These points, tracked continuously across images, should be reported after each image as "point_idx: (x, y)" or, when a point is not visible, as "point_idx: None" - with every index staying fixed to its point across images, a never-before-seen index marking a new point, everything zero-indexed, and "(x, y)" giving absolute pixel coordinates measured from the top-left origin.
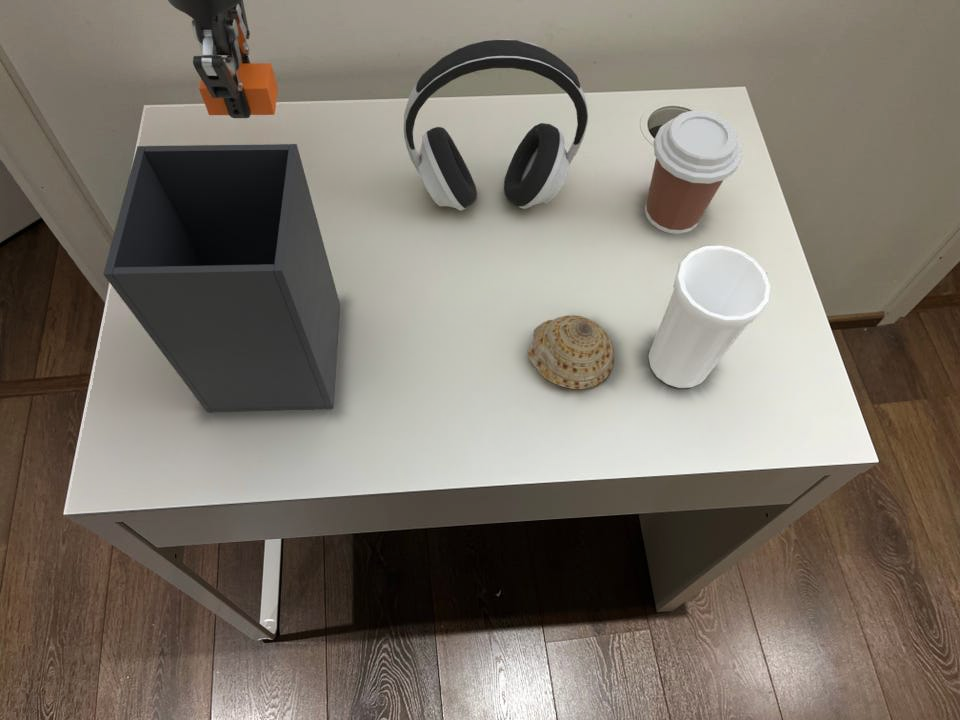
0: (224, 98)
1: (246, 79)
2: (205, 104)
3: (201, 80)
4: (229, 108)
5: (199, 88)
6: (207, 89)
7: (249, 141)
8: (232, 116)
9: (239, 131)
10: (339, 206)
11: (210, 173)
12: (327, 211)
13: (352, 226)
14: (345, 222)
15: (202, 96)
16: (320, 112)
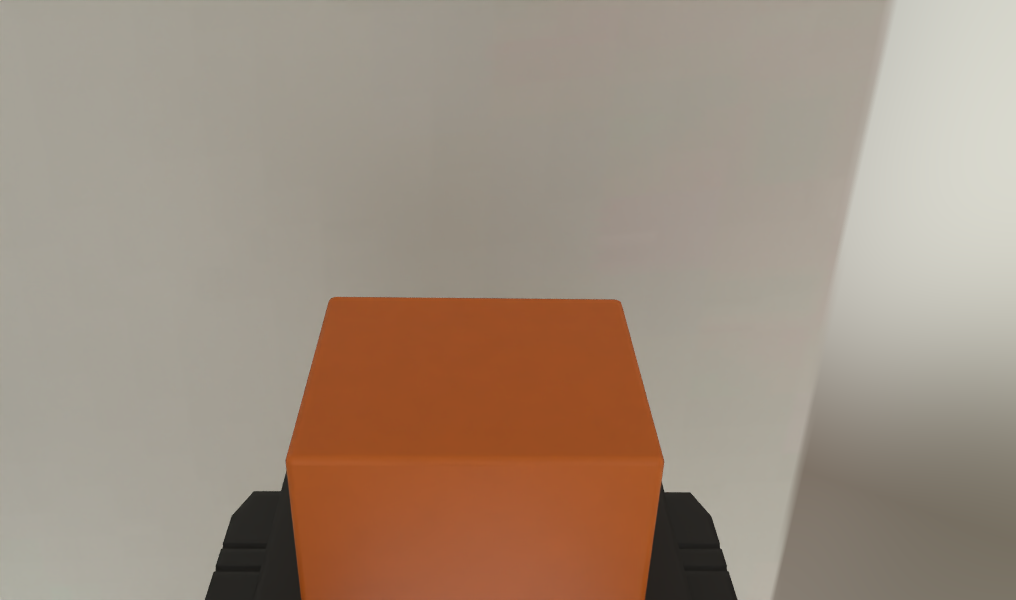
0: (262, 580)
1: None
2: (314, 359)
3: (401, 471)
4: (216, 568)
5: (291, 462)
6: (295, 514)
7: (627, 163)
8: (246, 504)
9: (711, 103)
10: (215, 541)
11: None
12: (183, 505)
13: (117, 583)
14: (134, 562)
15: (300, 409)
16: (780, 454)
